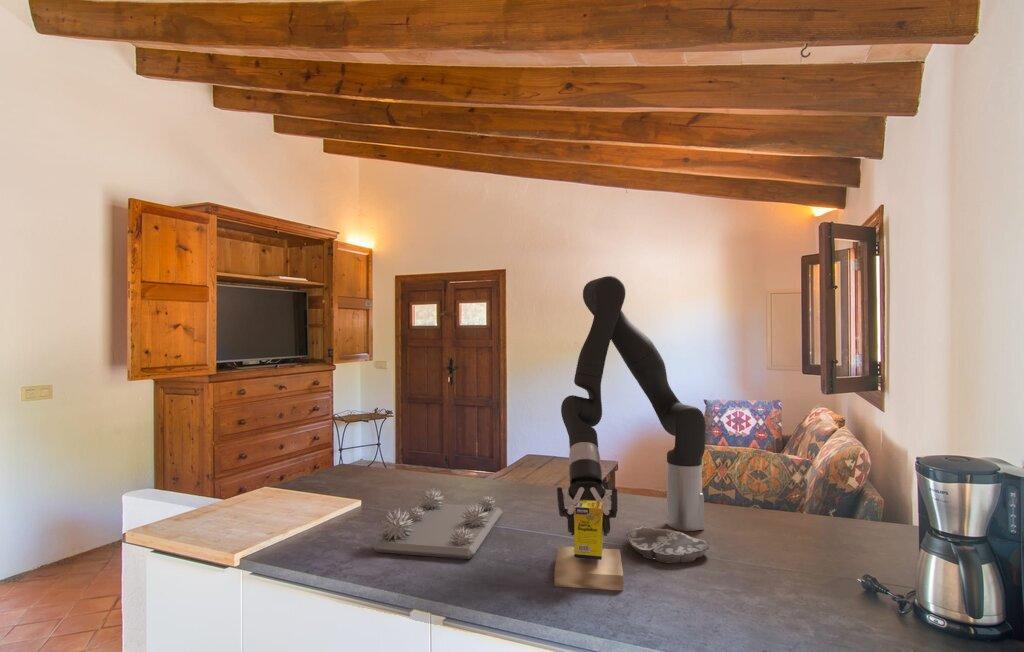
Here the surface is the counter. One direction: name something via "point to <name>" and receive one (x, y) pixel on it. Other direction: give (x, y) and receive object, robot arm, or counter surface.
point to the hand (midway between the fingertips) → (589, 533)
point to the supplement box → (588, 529)
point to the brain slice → (666, 544)
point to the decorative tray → (438, 528)
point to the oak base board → (589, 570)
